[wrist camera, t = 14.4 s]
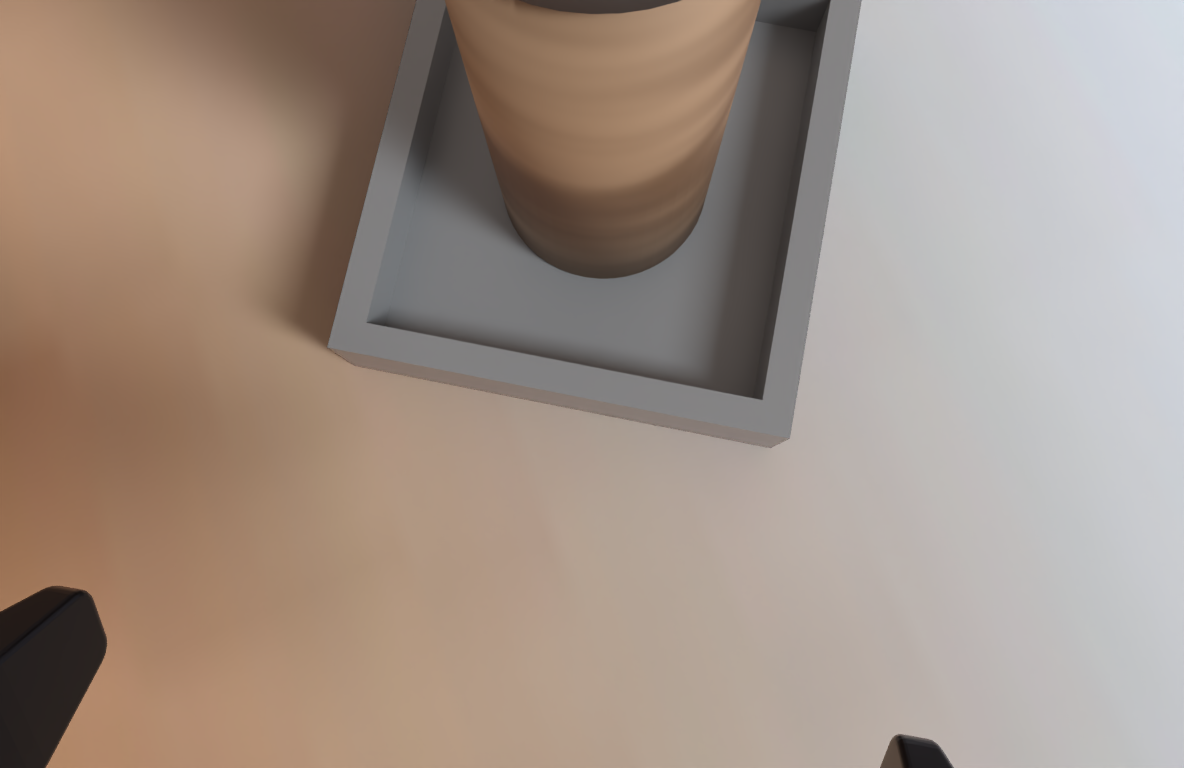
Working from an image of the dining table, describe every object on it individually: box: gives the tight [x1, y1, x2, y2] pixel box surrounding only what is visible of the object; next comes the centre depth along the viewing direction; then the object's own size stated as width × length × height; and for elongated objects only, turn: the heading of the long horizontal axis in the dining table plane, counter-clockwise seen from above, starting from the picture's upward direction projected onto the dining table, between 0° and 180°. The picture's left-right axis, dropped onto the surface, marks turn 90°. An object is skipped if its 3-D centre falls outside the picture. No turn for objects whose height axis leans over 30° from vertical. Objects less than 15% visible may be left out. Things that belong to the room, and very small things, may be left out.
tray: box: [327, 0, 862, 448], centre depth 23 cm, size 13×12×2 cm
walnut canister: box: [445, 0, 761, 279], centre depth 17 cm, size 6×6×14 cm
